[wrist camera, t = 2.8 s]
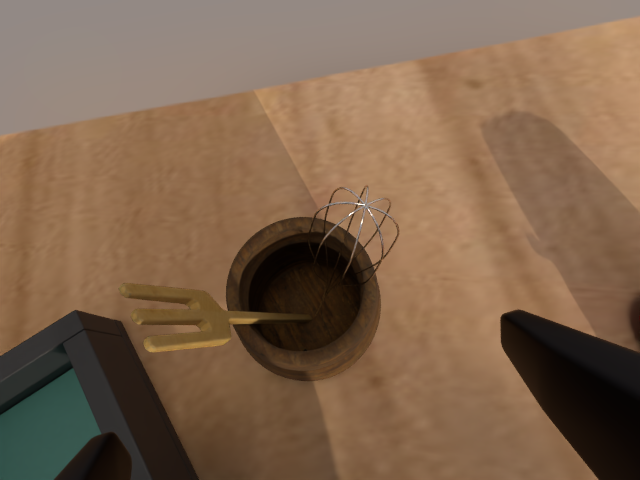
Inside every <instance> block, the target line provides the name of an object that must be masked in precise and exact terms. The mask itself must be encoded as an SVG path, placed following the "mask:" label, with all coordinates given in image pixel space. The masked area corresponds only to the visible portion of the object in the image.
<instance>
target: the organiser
mask: <svg viewBox="0 0 640 480" xmlns="http://www.w3.org/2000/svg"><path fill="white" fill-rule="evenodd" d="M107 432H114V433H116V434H117V436H118V437H119V439H120V440H121V441H122V443H123V444H124V446H125V447H126V449H127V450H128V452H129V453H130V455H131V458H132V471H131V480H199V479H198V477H197V475H196V473H195V471H194V469H193V467H192V465H191V463H190V461H189V459H188V457H187V455H186V453H185V451H184V449H183V447H182V445H181V443H180V441H179V439H178V437H177V435H176V433H175V431H174V429H173V427H172V425H171V422H170V420H169V418H168V416H167V414H166V412H165V410H164V408H163V406H162V404H161V402H160V400H159V398H158V396H157V394H156V392H155V390H154V388H153V386H152V384H151V382H150V380H149V378H148V376H147V374H146V372H145V370H144V368H143V366H142V364H141V362H140V360H139V358H138V356H137V354H136V352H135V350H134V347H133V345H132V343H131V341H130V339H129V337H128V335H127V333H126V331H125V329H124V327H123V325H122V323H121V321H117V320H112V319H109V318H105V317H101V316H97V315H93V314H89V313H85V312H82V311H78V310H74V311H72V312H71V313H69V314H68V315H66V316H64V317H63V318H61V319H60V320H58V321H56V322H55V323H53V324H52V325H50V326H48V327H47V328H45V329H44V330H42V331H40V332H39V333H37V334H35V335H34V336H32V337H31V338H29V339H27V340H26V341H24V342H23V343H21V344H19V345H18V346H16V347H15V348H13V349H11V350H10V351H8V352H7V353H5V354H3V355H2V356H0V480H54V479H55V477H56V476H57V475H58V474H59V473H60V472H61V471H62V470H63V469H64V468H65V466H66V465H67V464H68V463H69V462H70V461H71V460H72V459H73V458H74V457H75V455H76V454H77V453H78V452H79V451H80V450H81V449H82V448H83V447H84V446H85V445H86V443H87V442H88V441H89V440H90V439H91V438H93V437H95V436H97V435H101V434H104V433H107Z"/></svg>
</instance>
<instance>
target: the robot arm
mask: <svg viewBox="0 0 640 480" xmlns="http://www.w3.org/2000/svg"><path fill="white" fill-rule="evenodd" d="M500 321H501V344H502V347H503V349H504V351H505V353H506V354H507V356H508V358H509V359H510V361H511V362H512V364H513V365H514V367H515V368H516V370H517V371H518V373H519V374H520V376H521V377H522V379H523V380H524V382H525V383H526V385H527V387H528V388H529V390H530V391H531V393H532V394H533V396H534V397H535V399H536V400H537V402H538V403H539V405H540V406H541V408H542V409H543V410H544V412H545V413H546V414H547V416H548V417H549V418H550V419H551V421H552V422H553V423H554V424H555V426H556V427H557V428H558V429H559V431H560V432H561V433H562V434H563V436H564V437H565V438H566V439H567V441H568V442H569V443H570V444H571V446H572V447H573V448H574V449H575V451H576V452H577V453H578V454H579V456H580V457H581V458H582V459H583V461H584V462H585V463H586V464H587V465H588V467H589V468H590V469H591V470H592V472H593V473H594V474H595V475H596V477H597V478H598V479H599V480H640V353H639V352H636V351H633V350H630V349H628V348H625V347H622V346H619V345H617V344H614V343H611V342H608V341H606V340H603V339H600V338H597V337H594V336H592V335H589V334H586V333H583V332H581V331H578V330H575V329H572V328H570V327H567V326H564V325H561V324H559V323H556V322H553V321H550V320H548V319H545V318H542V317H539V316H536V315H534V314H531V313H528V312H525V311H523V310H514V311H511V312H507V313H504V314H503V315H502V316H501V320H500ZM131 471H132V458H131V455H130V453H129V452H128V450H127V449H126V447H125V446H124V444H123V443H122V441H121V440H120V439H119V437H118V436H117V434H116V433H114V432H107V433H104V434H101V435H97V436H95V437H93V438H91V439H90V440H89V441H88V442H87V443H86V445H85V446H84V447H83V448H82V449H81V450H80V451H79V452H78V453H77V454H76V455H75V457H74V458H73V459H72V460H71V461H70V462H69V463H68V464H67V465H66V466H65V468H64V469H63V470H62V471H61V472H60V473H59V474H58V475H57V476H56V477H55V479H54V480H131Z"/></svg>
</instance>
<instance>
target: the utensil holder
mask: <svg viewBox="0 0 640 480" xmlns="http://www.w3.org/2000/svg"><path fill="white" fill-rule="evenodd" d="M366 187H367V193H366V200H365V203H364V202H363V201H362V199H361V197H362V195H363V192H364V190H365V188H366ZM339 189H345V190H348V191H350V192H351V193H353V194H354V195H355V196H356V197H357V198H358V199H359V200H358V203H354V202H336V203H331V200H332V197H333V195H334V193H335V192H336V191H337V190H339ZM368 191H369V187H368V185H366V186H365V187H364V189H363V191H362V193H361V195H360V197H359V196H358V195H357V194H356V193H354V192H353V191H352V190H350V189H348V188H345V187H340V188H337V189H335V190H334V192H333V193H332V195H331V198H330V201H329V204H328V205H325V206H323V207H322V208H320V209H319V210H318V211H317V212H316V213H315V215H314V217H313V218H310V217H297V218H289V219H285V220H281V221H278V222H275V223H273V224H271V225H269V226H267V227H265V228H263V229H262V230H260V231H259V232H257V233H256V234H255V235H253V236H252V237H251V238H250V239H249V240H248V241H247V242H246V243H245V244H244V246H243V247H242V248H241V249H240V251H239V252H238V254H237V256H236V257H235V259H234V261H233V263H232V266H231V268H230V271H229V275H228V279H227V286H226V301H227V308H228V311H225V310H224V309H222V308H221V307H220V306H219V305H218V304H217V303H216V301H215V300H214V299H213V298H212V297H211V296H210V295H209V294H208V293H207V292H205V291H200V290H192V289H182V288H172V287H162V286H151V285H141V284H131V283H123V284H122V285H121V286H120V287H119V291H120V293H121V295H122V296H124V297H125V298H132V299H142V300H151V301H161V302H171V303H180V304H185V305H187V306H188V307H189V309H190V310H186V309H135V310H134V311H133V312H132V313H131V318H132V320H133V321H134V322H135V323H136V324H139V325H196V326H197V327H199V328H200V330H201V332H193V333H181V334H169V335H157V336H148V337H147V338H145V340H144V342H143V344H144V347H145V349H146V350H148V351H149V352H151V353H152V352H162V351H172V350H182V349H192V348H202V347H212V346H220V345H224V344H225V343H227V342H228V341H229V340H230V339H231V331H230V326H229V324H233V326H234V328H235V330H236V332H237V334H238V336H239V338H240V340H241V342H242V343H243V345H244V347H245V348H246V350H247V351H248V352H249V353H250V355H251V356H252V357H253V358H254V359H255V360H256V361H257V362H258V363H260V364H261V365H262V366H263V367H265V368H266V369H268V370H270V371H271V372H273V373H275V374H277V375H280V376H283V377H285V378H289V379H294V380H301V381H314V380H321V379H326V378H329V377H332V376H335V375H337V374H339V373H341V372H343V371H344V370H346V369H347V368H349V367H350V366H351V365H353V364H354V363H355V362H356V361H357V360H358V359H359V358H360V357H361V356H362V355H363V354H364V352H365V351H366V349H367V348H368V346H369V345H370V343H371V341H372V339H373V337H374V335H375V333H376V330H377V327H378V323H379V318H380V310H381V299H380V291H379V286H378V283H377V278H376V274H375V273H376V271H377V269H378V268H379V266H380V264H381V262H382V260H383V259H384V258H385V257H386V256H387V255H388V253H389V252H390V250H391V249H392V247H393V245H394V244H395V242H396V240H397V238H398V236H399V227H398V224H397V223H396V221H395V220H394V219H393V218H392V217H391V216H390V215H389V214H388V212H389V210H390V208H391V201H390V199H388V198H381V199H377V200H374V201H372V202H370V203H368V204H367V199H368ZM380 200H388V201H389V203H390V205H389V208H388V210H387V212H384V211H382V210H380V209H377V208H375V207H372V206H368V205H370V204H372V203H374V202H377V201H380ZM360 201H361V202H362V204H360V203H359V202H360ZM330 203H331V204H330ZM335 204H355V205H356V207H355V210H354V211H353V212H352V213H350V214H349V215H347V216H346V217H345V218H343V219H342V220H341V221H340V222H339V223H338V224H333V223H331V222H328V221H326V217H327V212H328V209H329V206H331V205H335ZM358 205H360V206H362V207H360V208H358V209H357V206H358ZM365 205H366V206H365ZM325 207H327V210H326V214H325V220H322V219H317V218H315V217H316V215H317V213H318V212H319V211H320V210H322V209H324V208H325ZM362 208H364V210H363V215H362V220H361V224H360V228H359V232H358V235H357V239H356V238H354V237H353V236H352V235H351V234H350V233H349V232H348V230H349V227H350V225H351V222H352V219H353V216H354V214H355V212H357V211H359V210H360V209H362ZM369 208H372V209H375V210H377V211H380V212H382V213H384V214H385V216H384V218H383V220H382V222H381V224H380V226H378V224H377V222H376V220H375V218H374V216H373V214H372V213H371V211H370V210H369ZM356 209H357V210H356ZM366 209H367V210H368V212H369V213H370V215H371V216H372V218H373V220H374V222H375V224H376V226H377V230H376V232H375V233H374V235H373V236H372V238H371V239H370V240H369V241H368V243H367V244H366V245H365V246H364V247H363V246H362V245H361V244H360V243H359V242H358V239H359V235H360V232H361V228H362V224H363V219H364V215H365V210H366ZM352 214H353V215H352ZM351 215H352V218H351V220H350V223H349V226H348V229H347V231H346V230H344V229H343V228H341V227H339V226H338V225H339V224H340V223H342V222H343V221H344V220H345V219H347V218H348V217H349V216H351ZM386 216H388V217H390V218H391V219H392V220H393V222H394V223H395V224H396V227H397V230H398V233H397V236H396V239H395V241H394V242H393V244H392V246H391V247H390V249H389V250H388V252H387V253H386V255H385V256H384V244H383V238H382V234H381V231H380V227H381V225H382V223H383V221H384V220H385V218H386ZM378 231H379V234H380V238H381V243H382V257H381V260H380V261H378V262H377V263H375V264H374V265H372V262H371V260H370V258H369V256H368V254H367V252H366V251H365V249H364V248H365V247H366V246H367V245H368V244H369V242H370V241H371V240H372V239H373V237H374V236H375V235H376V233H377V232H378ZM383 256H384V257H383ZM378 263H379V264H378ZM376 264H378V266H377V268H376V269H375V270H374V267H373V266H375V265H376Z"/></svg>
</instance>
